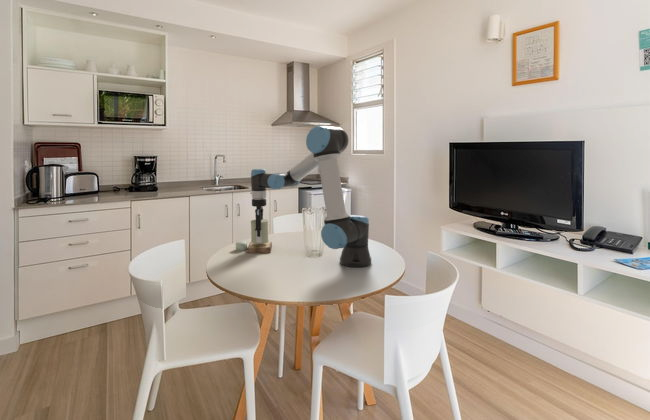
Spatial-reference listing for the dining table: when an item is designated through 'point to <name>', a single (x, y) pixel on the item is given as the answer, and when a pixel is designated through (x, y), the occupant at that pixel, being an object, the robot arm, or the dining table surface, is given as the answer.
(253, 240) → the can
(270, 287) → the dining table surface
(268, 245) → the stand
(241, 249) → the pale green rounded block
